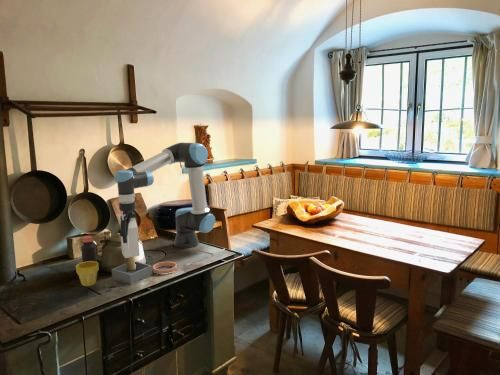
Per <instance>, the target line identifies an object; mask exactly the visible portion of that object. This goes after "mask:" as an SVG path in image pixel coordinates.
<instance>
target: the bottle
mask: <svg viewBox="0 0 500 375" xmlns="http://www.w3.org/2000/svg"><path fill="white" fill-rule="evenodd" d="M81 238H82V239H81V242H82V246H81V248H80V250H81V258H82V259H81V260H82V262H87V261H95V262H97V251H96V250H97V249H96V245H95V244H94V243H93V242H94V240H93V235H85V236H83V237H81ZM82 262H81V263H82ZM98 271H99V270H98ZM98 271H97V273H99V272H98Z"/></svg>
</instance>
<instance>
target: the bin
mask: <svg viewBox="0 0 500 375" xmlns="http://www.w3.org/2000/svg"><path fill="white" fill-rule="evenodd" d="M135 261H136V260H135ZM135 264H136V270H133V271H128V272H127V270H126V268H127V264H126V263H123V264H121V265H119V266H116V267H114V268H111V277H112V278H113V280H115V279H116V281H118V280H119V282H121V281H122V282H121V283H125V282H126V283H125V284H128V283H130V284H129V285H132V284H131V283H133V282H136V281H138V280H140V279H142V278H145V277H147V276H149V275H151V276H153V266H152V265H150V264H146V263H143V262H139V261H136V262H135ZM149 277H150V276H149ZM112 278H111V279H112ZM147 278H148V277H147ZM145 279H146V278H145ZM142 280H143V279H142ZM140 281H141V280H140ZM138 282H139V281H138ZM136 283H137V282H136ZM133 284H134V283H133Z"/></svg>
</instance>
